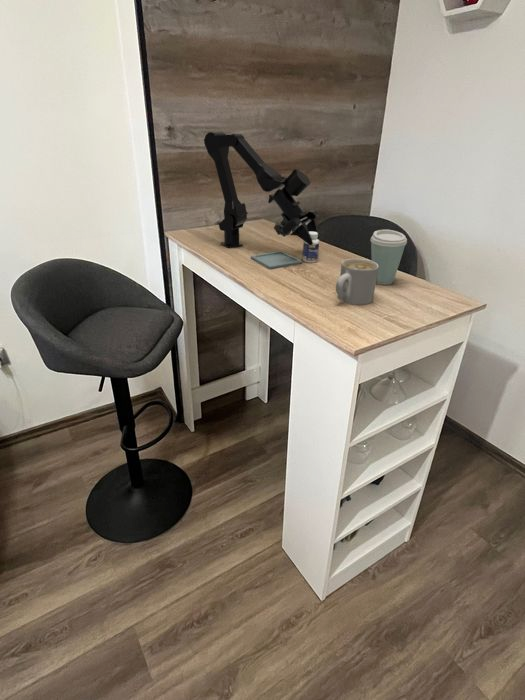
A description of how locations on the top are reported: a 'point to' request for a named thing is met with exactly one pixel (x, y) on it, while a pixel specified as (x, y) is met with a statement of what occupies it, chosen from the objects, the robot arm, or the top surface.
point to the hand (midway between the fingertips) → (315, 242)
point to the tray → (276, 259)
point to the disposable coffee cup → (387, 253)
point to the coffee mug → (357, 281)
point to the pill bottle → (311, 249)
